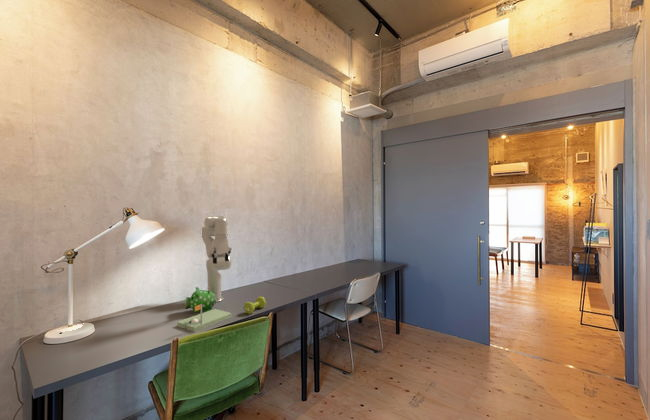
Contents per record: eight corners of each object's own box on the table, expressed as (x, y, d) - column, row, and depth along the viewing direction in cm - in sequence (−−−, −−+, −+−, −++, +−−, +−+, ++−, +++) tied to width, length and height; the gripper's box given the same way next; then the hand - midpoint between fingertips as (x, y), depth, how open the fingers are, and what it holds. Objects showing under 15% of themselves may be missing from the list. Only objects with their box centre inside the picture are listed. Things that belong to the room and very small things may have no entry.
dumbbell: (251, 315, 189) (251, 304, 188) (242, 313, 192) (242, 302, 192) (267, 307, 203) (267, 297, 203) (257, 305, 207) (257, 295, 207)
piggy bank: (187, 309, 199) (186, 287, 199) (215, 306, 206) (215, 284, 205) (185, 316, 186) (185, 293, 186) (215, 313, 192) (215, 290, 192)
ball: (194, 325, 174) (188, 325, 170) (196, 317, 175) (190, 318, 171) (199, 326, 172) (193, 326, 168) (200, 319, 173) (194, 319, 169)
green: (177, 326, 171) (177, 302, 171) (214, 312, 193) (214, 291, 193) (194, 332, 162) (194, 306, 162) (231, 317, 185) (231, 295, 185)
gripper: (227, 235, 206) (227, 259, 206) (206, 237, 192) (206, 263, 192) (234, 236, 202) (234, 260, 203) (213, 238, 188) (213, 265, 188)
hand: (220, 262), depth 197 cm, fingers open, 9 cm apart
